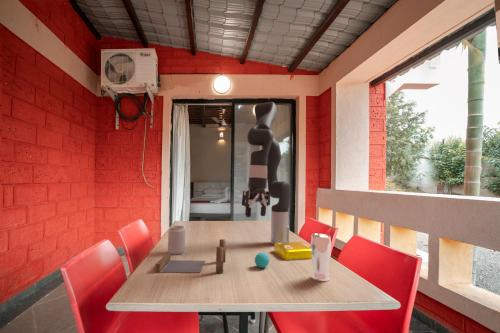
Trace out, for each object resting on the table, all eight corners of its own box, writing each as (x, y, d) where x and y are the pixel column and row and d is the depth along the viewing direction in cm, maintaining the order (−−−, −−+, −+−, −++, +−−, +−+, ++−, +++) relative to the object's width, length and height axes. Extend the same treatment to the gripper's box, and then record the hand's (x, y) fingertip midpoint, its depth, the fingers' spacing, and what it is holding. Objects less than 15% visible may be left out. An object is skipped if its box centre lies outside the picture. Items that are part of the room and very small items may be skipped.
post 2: (223, 271, 101) (223, 246, 102) (222, 273, 99) (223, 248, 99) (216, 271, 101) (216, 246, 101) (215, 273, 98) (216, 248, 99)
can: (187, 251, 127) (188, 225, 127) (178, 255, 120) (179, 228, 120) (174, 250, 129) (174, 224, 130) (164, 254, 122) (165, 227, 123)
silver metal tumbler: (319, 283, 91) (320, 238, 92) (306, 276, 97) (306, 234, 98) (335, 280, 94) (335, 236, 95) (321, 273, 101) (321, 232, 101)
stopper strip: (170, 260, 113) (170, 253, 113) (159, 272, 99) (160, 264, 99) (166, 260, 113) (166, 253, 113) (155, 272, 99) (155, 264, 99)
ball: (268, 265, 109) (268, 251, 110) (269, 269, 104) (269, 254, 104) (254, 264, 109) (254, 250, 109) (254, 269, 104) (255, 254, 104)
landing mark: (205, 261, 113) (205, 260, 113) (200, 272, 99) (200, 272, 99) (171, 260, 113) (171, 260, 113) (161, 272, 99) (161, 271, 99)
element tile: (316, 259, 120) (316, 248, 120) (284, 261, 116) (284, 250, 117) (301, 250, 135) (301, 240, 135) (272, 251, 131) (273, 241, 131)
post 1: (225, 260, 114) (226, 239, 114) (225, 262, 111) (225, 240, 112) (219, 260, 114) (219, 239, 114) (218, 262, 111) (219, 240, 111)
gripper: (263, 177, 120) (260, 214, 119) (239, 175, 110) (236, 216, 109) (276, 178, 114) (273, 216, 114) (252, 176, 105) (249, 218, 104)
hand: (255, 216), depth 111 cm, fingers open, 8 cm apart
